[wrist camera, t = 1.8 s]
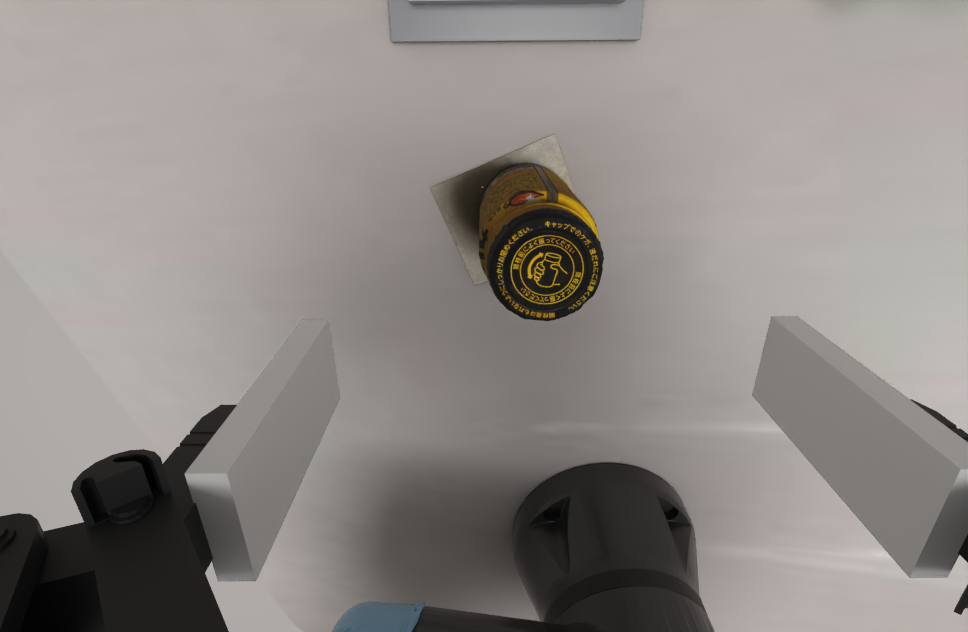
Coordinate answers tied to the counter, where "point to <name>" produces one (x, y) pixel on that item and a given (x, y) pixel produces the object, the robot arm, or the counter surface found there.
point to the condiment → (525, 231)
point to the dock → (515, 20)
